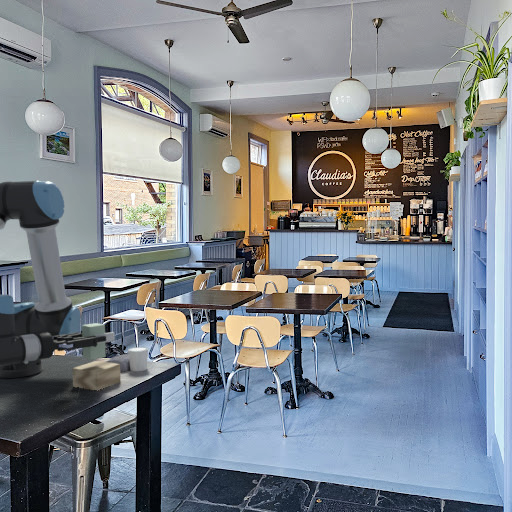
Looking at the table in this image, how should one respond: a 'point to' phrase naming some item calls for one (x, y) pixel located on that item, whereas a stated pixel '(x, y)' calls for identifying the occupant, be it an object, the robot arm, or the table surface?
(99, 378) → the oak block
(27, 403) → the table surface
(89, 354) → the sage block
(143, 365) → the white cup
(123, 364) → the stone block
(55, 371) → the table surface
